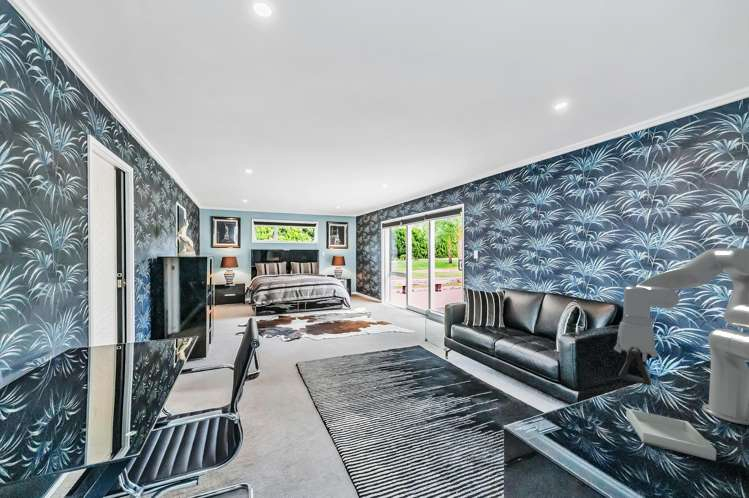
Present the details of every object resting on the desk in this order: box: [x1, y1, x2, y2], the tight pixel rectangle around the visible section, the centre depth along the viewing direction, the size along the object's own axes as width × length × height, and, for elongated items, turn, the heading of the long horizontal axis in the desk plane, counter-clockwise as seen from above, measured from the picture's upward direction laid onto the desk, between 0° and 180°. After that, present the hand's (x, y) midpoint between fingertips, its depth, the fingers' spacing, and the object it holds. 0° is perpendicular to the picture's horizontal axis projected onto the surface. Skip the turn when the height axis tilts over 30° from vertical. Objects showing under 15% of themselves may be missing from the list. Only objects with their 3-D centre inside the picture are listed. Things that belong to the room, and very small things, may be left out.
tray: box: [625, 408, 717, 461], centre depth 98 cm, size 16×17×3 cm
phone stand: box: [618, 348, 652, 386], centre depth 113 cm, size 9×6×12 cm, turn 48°
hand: (635, 370), depth 114 cm, fingers closed on phone stand, 2 cm apart
